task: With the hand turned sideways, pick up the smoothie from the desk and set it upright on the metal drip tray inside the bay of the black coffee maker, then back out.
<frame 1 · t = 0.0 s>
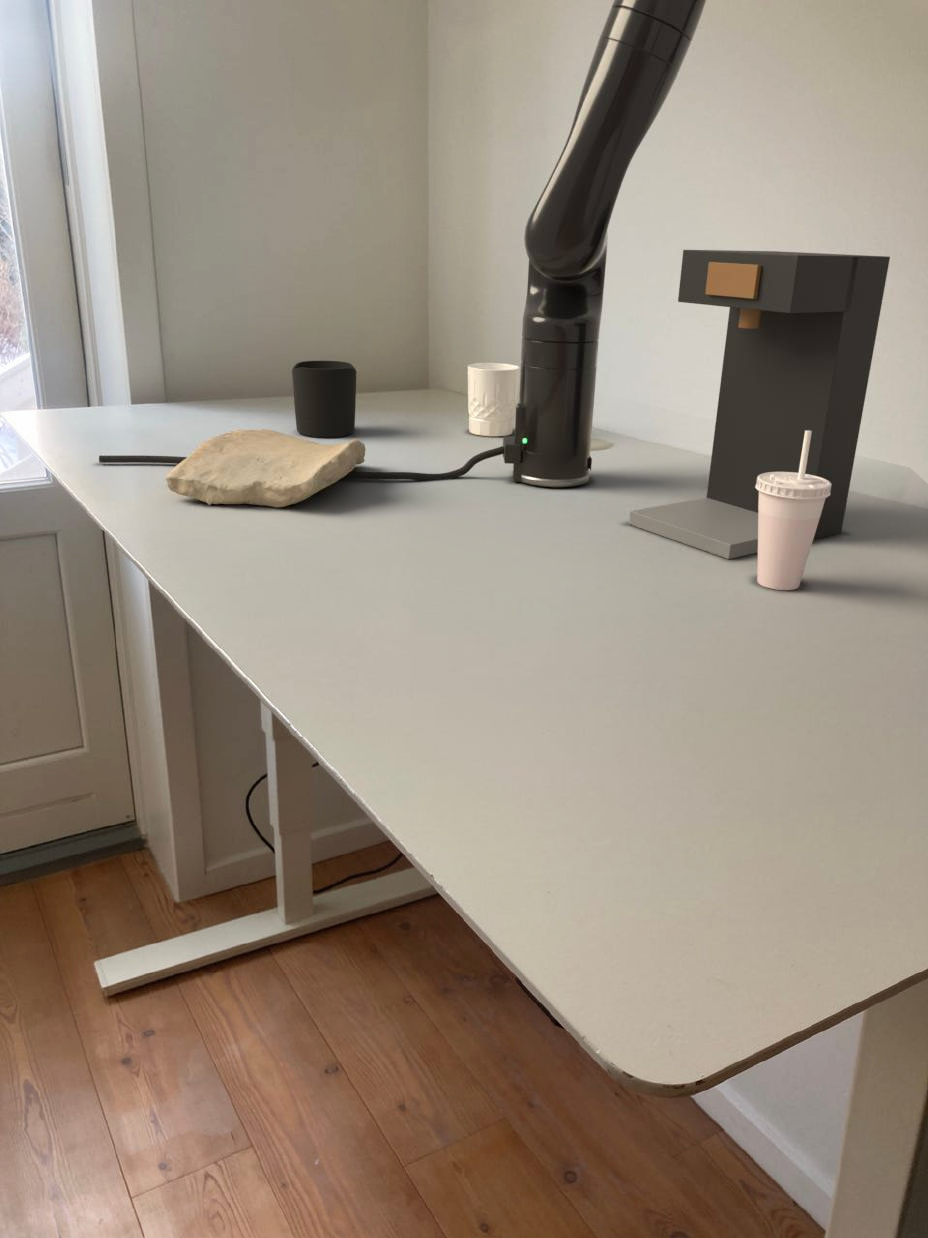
pen holder: (325, 433, 149), on the table
coffee maker: (722, 531, 106), on the table
white cup: (490, 433, 153), on the table
beige stone slab: (285, 486, 119), on the table
smoothie: (777, 585, 91), on the table
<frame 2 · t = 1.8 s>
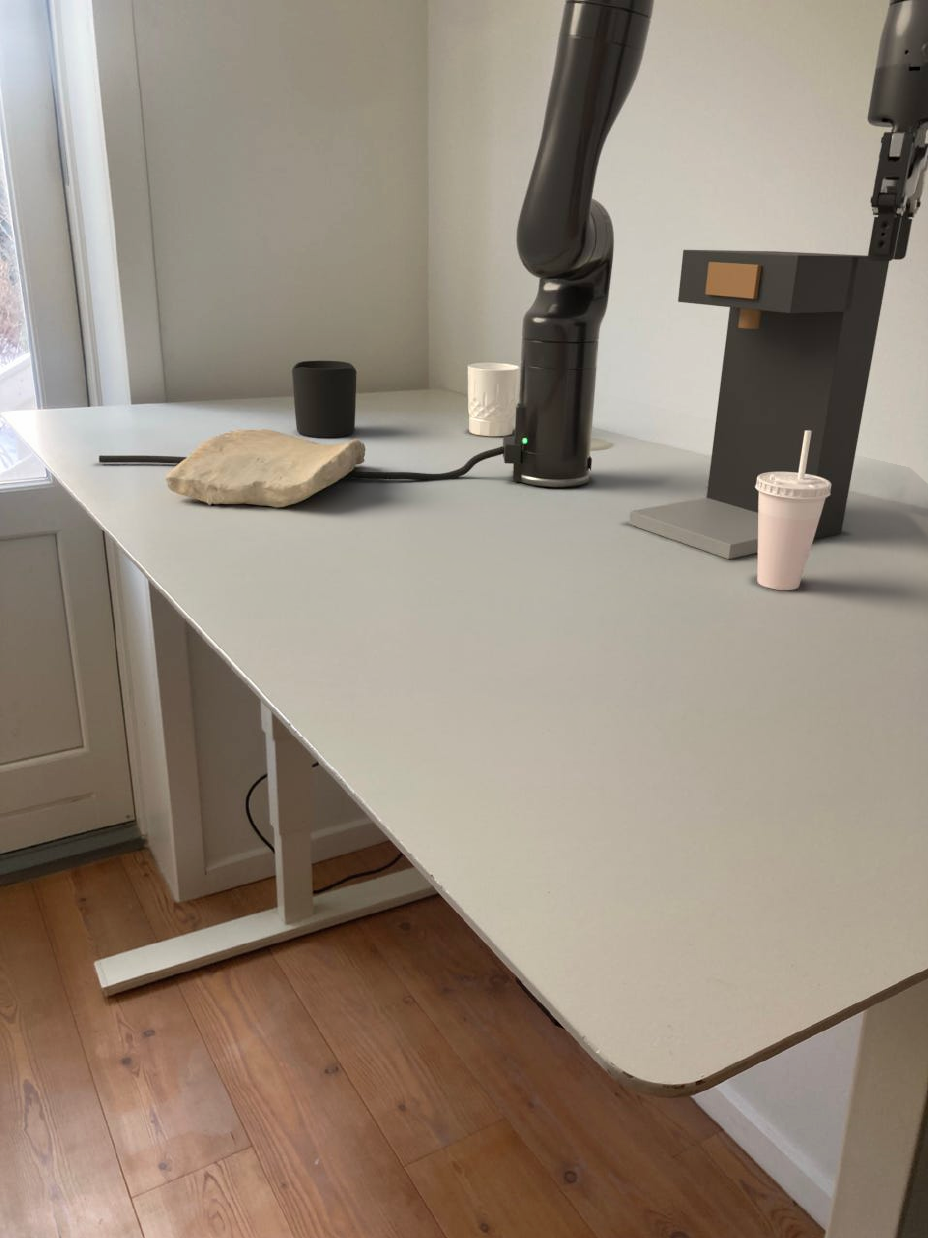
hand: (886, 260, 93), 28 cm above the table, tool pointing down, fingers open, 8 cm apart
nothing on the table moved.
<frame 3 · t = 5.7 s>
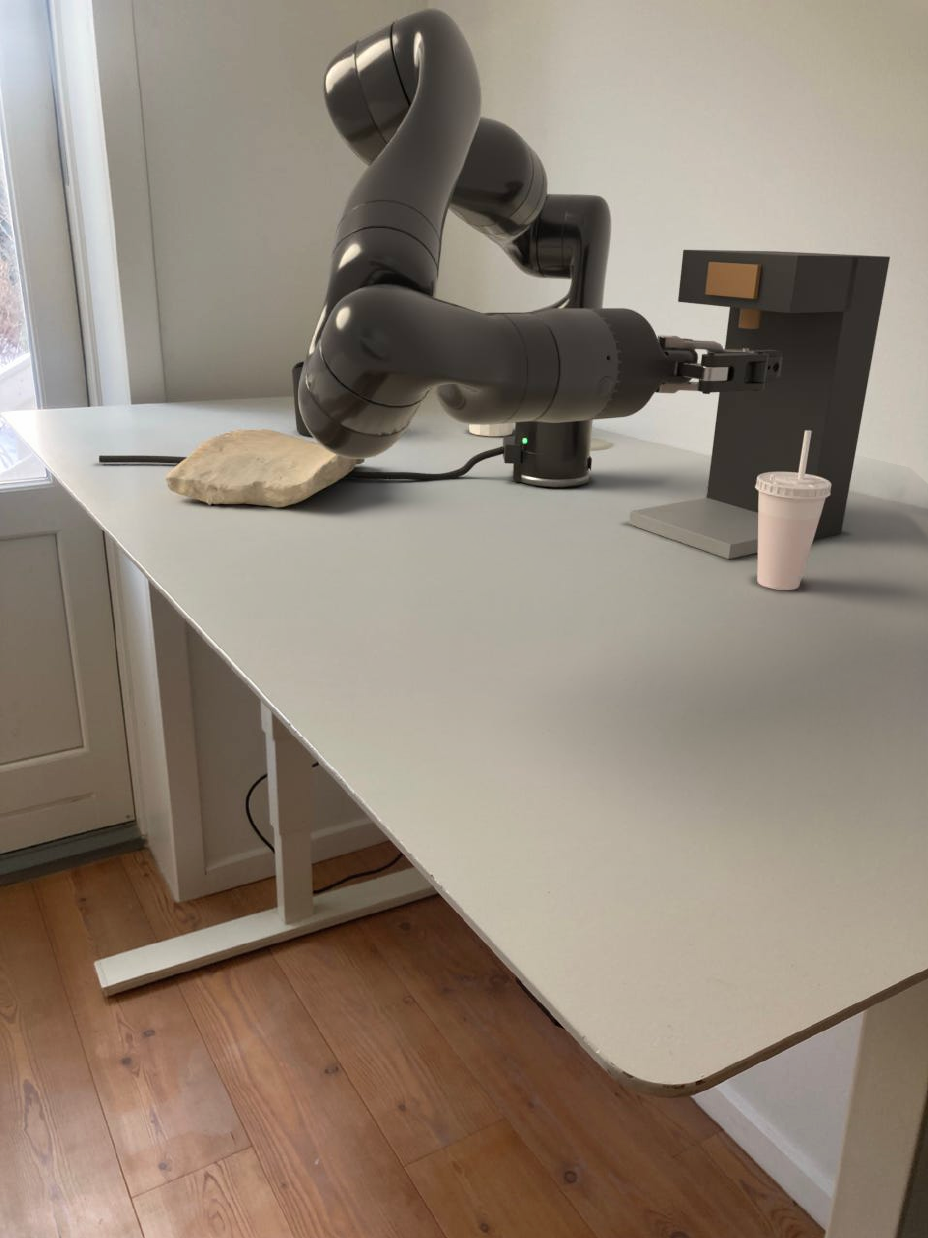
hand: (731, 358, 77), 21 cm above the table, tool horizontal, fingers open, 8 cm apart
nothing on the table moved.
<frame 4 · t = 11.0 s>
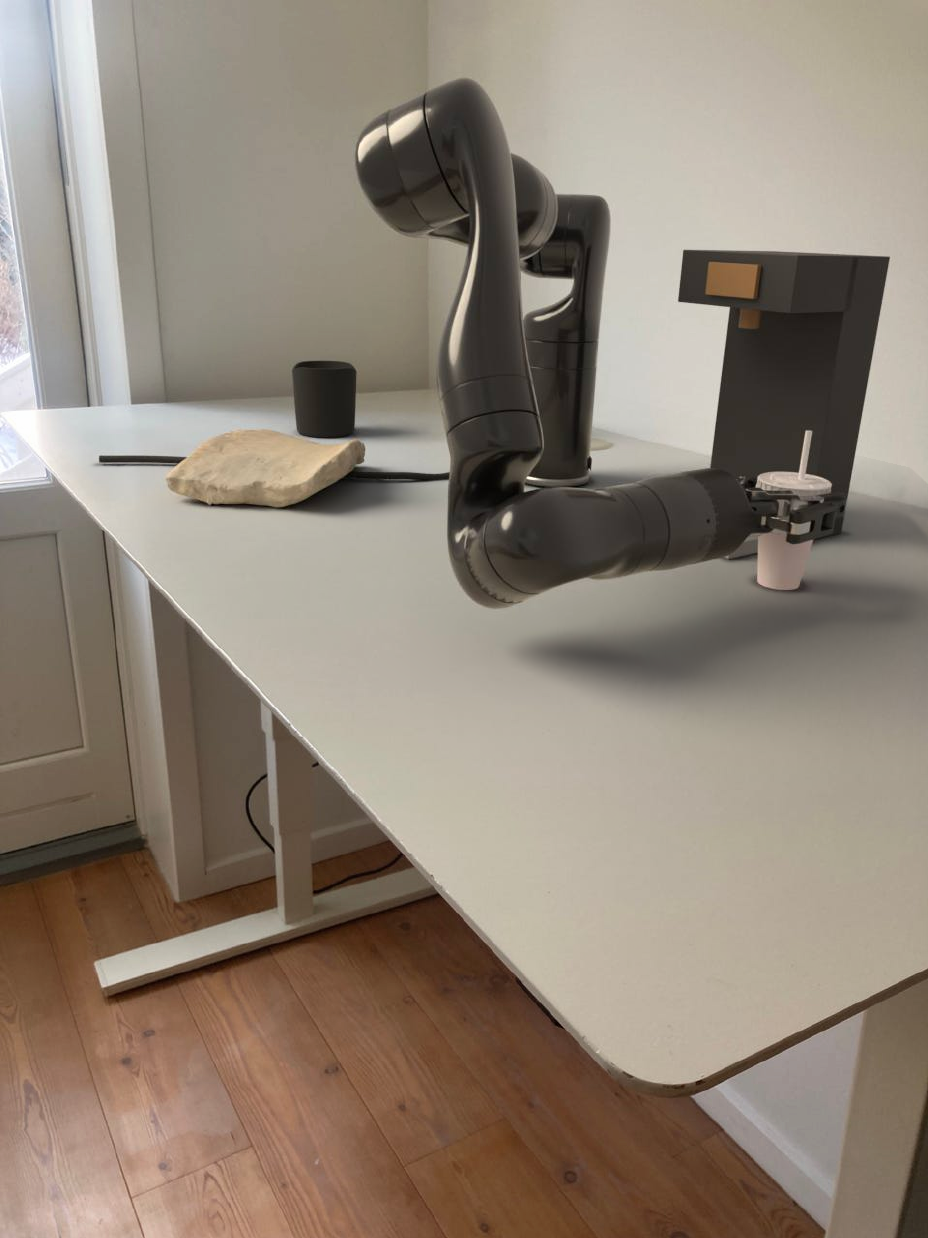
hand: (807, 494, 89), 8 cm above the table, tool horizontal, fingers closed on smoothie, 6 cm apart
smoothie: (777, 585, 91), on the table, touching gripper
everything else where it was.
when the fingers open (10 cm above the table, at t = 20.7 s): smoothie stays where it is, resting on coffee maker.
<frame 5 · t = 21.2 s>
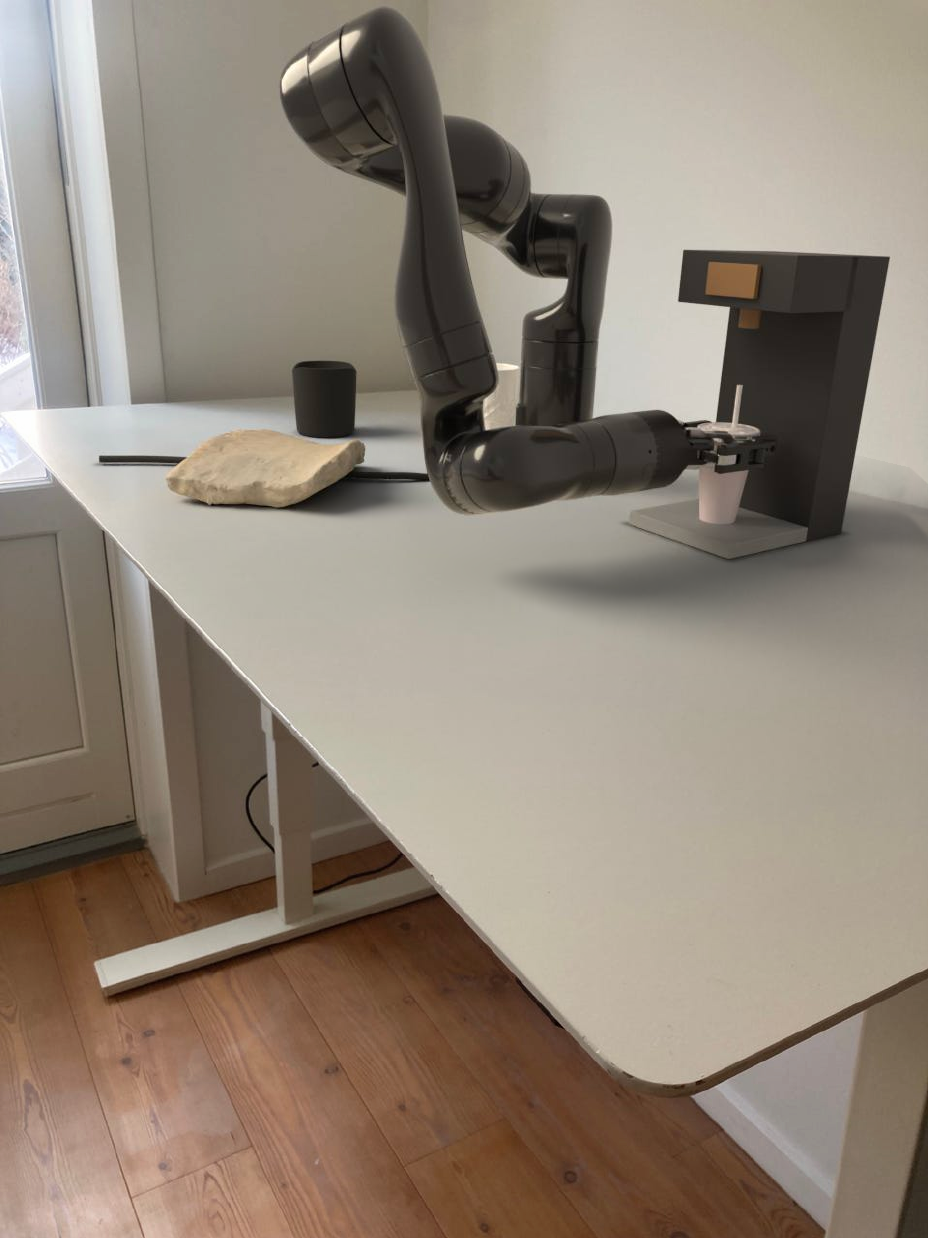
hand: (740, 437, 103), 10 cm above the table, tool horizontal, fingers open, 8 cm apart
smoothie: (716, 521, 105), point 1 cm above the table, touching coffee maker
everything else where it was.
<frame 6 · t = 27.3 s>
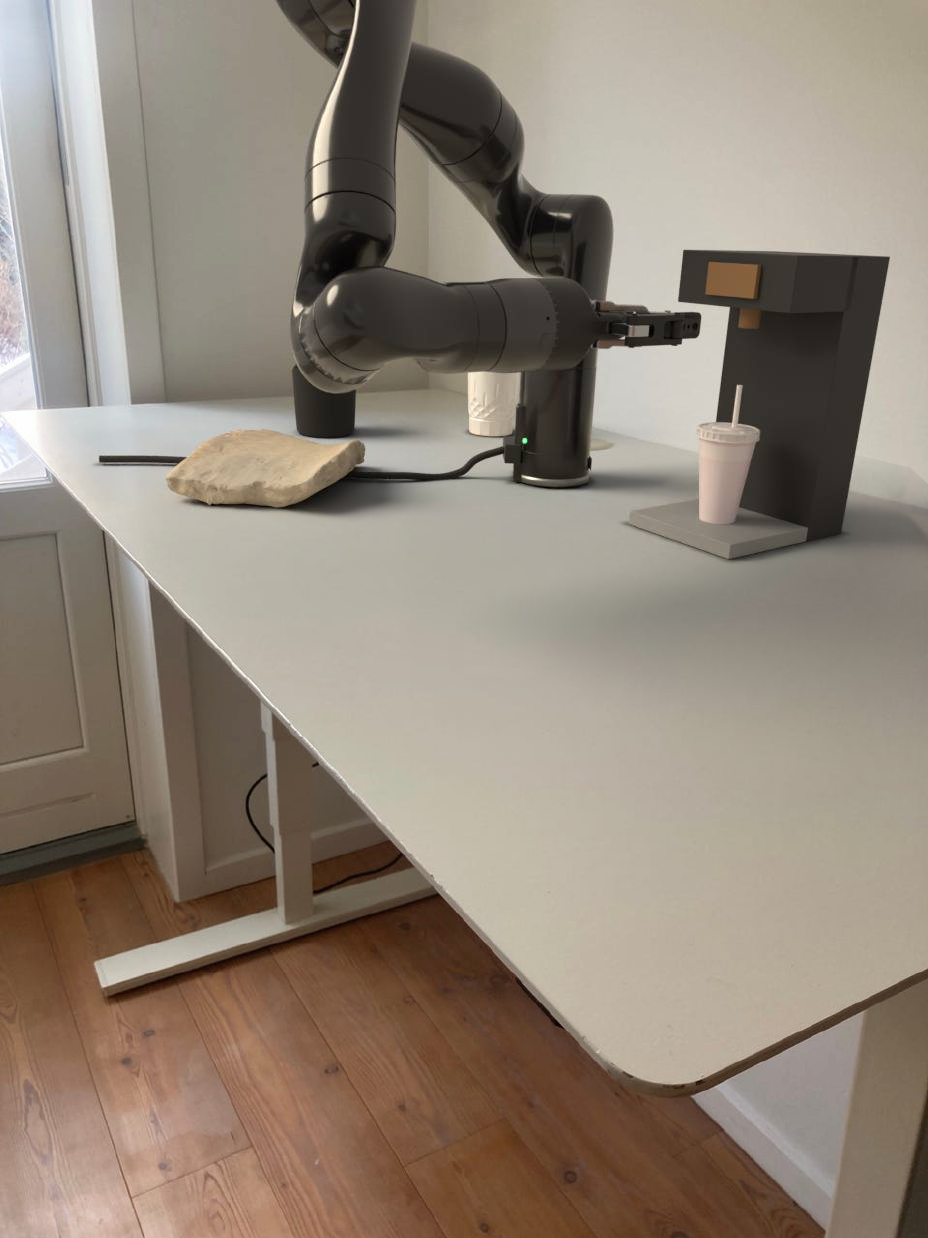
hand: (662, 320, 91), 22 cm above the table, tool horizontal, fingers open, 8 cm apart
nothing on the table moved.
at the end: smoothie inside the target area on the coffee maker (0.4 cm from its centre), point 1.3 cm above the coffee maker's base; smoothie tilted 0°; the gripper is holding nothing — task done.
